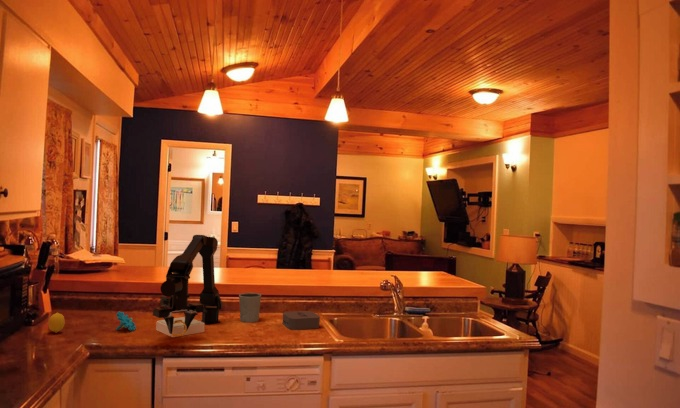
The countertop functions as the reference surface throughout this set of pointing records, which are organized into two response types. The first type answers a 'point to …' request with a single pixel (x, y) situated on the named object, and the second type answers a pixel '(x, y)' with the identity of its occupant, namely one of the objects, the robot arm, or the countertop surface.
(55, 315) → the lemon
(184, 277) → the robot arm
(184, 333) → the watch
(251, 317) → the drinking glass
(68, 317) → the countertop surface
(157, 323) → the stand
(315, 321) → the streaming box
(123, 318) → the teal lumpy piece
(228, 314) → the countertop surface
